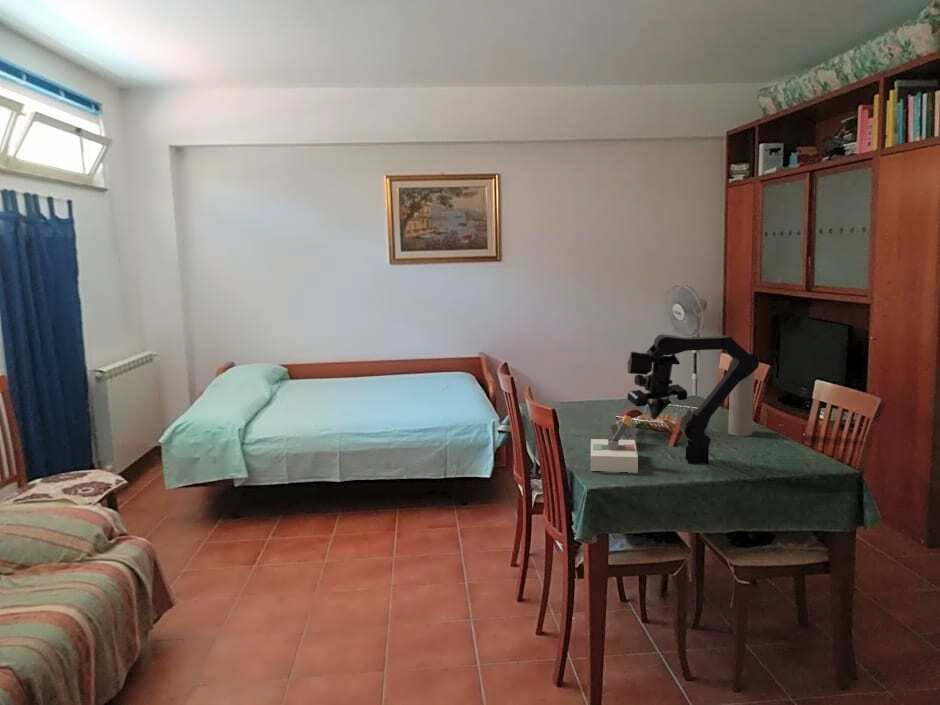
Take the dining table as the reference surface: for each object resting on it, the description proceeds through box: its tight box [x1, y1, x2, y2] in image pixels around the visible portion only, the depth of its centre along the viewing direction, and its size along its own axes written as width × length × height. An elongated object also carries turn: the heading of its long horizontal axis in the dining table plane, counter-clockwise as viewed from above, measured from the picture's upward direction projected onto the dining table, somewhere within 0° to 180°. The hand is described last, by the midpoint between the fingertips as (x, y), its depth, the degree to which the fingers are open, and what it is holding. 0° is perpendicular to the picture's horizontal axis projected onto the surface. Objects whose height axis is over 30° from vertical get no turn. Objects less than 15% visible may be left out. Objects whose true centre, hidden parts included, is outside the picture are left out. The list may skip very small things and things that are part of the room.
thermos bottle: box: [727, 371, 755, 437], centre depth 251 cm, size 8×8×28 cm
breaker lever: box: [610, 414, 634, 442], centre depth 223 cm, size 2×3×10 cm
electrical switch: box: [610, 415, 638, 444], centre depth 244 cm, size 9×5×9 cm, turn 141°
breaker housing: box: [590, 437, 639, 474], centre depth 225 cm, size 14×18×8 cm
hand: (653, 418), depth 228 cm, fingers closed
